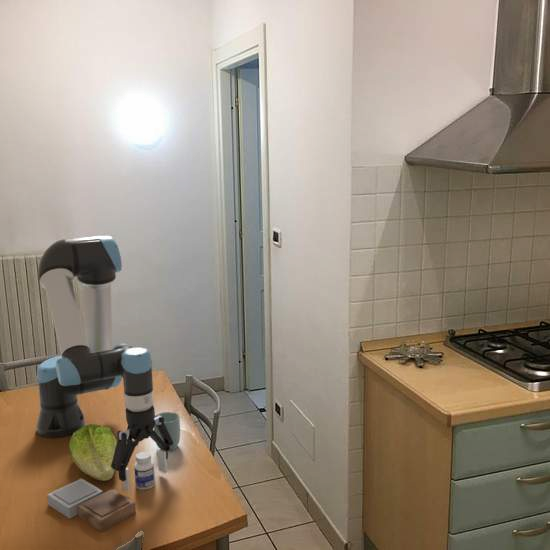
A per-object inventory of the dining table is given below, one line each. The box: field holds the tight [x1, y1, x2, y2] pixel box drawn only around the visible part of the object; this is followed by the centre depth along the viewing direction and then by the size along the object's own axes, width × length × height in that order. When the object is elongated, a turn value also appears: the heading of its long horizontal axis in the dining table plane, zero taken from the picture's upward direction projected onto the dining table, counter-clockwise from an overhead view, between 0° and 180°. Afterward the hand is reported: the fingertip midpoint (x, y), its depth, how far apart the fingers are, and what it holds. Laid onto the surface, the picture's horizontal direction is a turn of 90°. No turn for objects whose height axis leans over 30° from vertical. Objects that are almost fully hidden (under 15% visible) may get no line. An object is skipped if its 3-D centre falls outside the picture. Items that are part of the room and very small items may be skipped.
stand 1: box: [46, 478, 104, 519], centre depth 164 cm, size 10×10×3 cm
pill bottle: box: [133, 451, 156, 491], centre depth 171 cm, size 5×5×9 cm
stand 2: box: [78, 489, 137, 533], centre depth 158 cm, size 10×10×3 cm
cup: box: [153, 411, 181, 451], centre depth 192 cm, size 8×8×10 cm
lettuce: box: [68, 423, 117, 481], centre depth 181 cm, size 12×24×13 cm
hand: (145, 480), depth 172 cm, fingers open, 12 cm apart
